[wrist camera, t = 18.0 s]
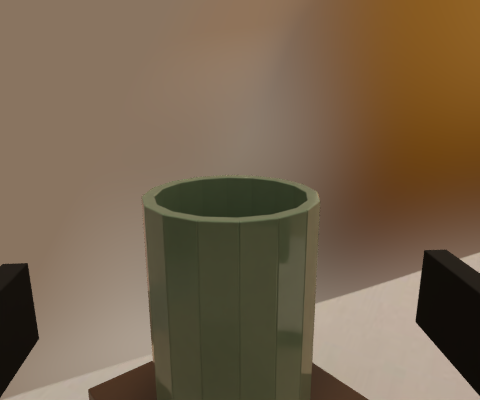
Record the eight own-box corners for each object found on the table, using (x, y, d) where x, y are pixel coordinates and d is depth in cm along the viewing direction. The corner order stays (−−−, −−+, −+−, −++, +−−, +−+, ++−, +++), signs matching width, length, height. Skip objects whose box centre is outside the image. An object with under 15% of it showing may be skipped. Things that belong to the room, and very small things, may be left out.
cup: (130, 392, 20) (113, 190, 18) (243, 338, 24) (243, 169, 22) (216, 500, 15) (209, 237, 12) (340, 408, 19) (356, 196, 17)
